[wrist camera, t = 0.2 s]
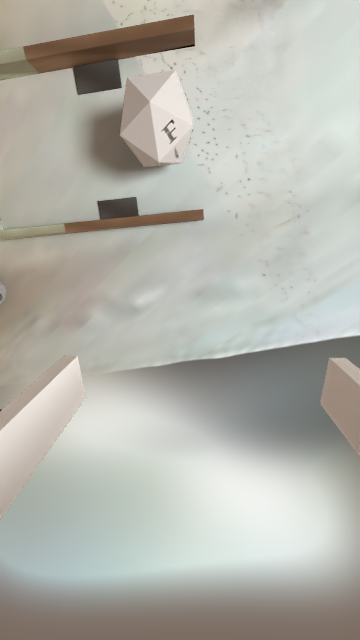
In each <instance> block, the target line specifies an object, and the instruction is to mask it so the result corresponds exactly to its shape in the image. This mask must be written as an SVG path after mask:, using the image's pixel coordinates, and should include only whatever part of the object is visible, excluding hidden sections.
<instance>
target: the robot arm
mask: <svg viewBox="0 0 360 640" xmlns="http://www.w3.org/2000/svg"><path fill="white" fill-rule="evenodd" d="M85 399H86V397H85V392H84V387H83V382H82V377H81V372H80V367H79V362H78V357H77V356H63V357H62V358H61V359H60V360H59V361H58V362H57V363H55V364H54V365H53V366H52V367H51V368H50V369H48V370H47V371H46V372H45V373H44V374H43V375H42V376H40V377H39V378H38V379H37V380H36V381H35V382H34V383H32V384H31V385H30V386H29V387H28V388H27V389H25V390H24V391H23V392H22V393H21V394H20V395H19V396H18V397H16V398H15V399H14V400H13V401H12V402H11V403H9V404H8V405H7V406H6V407H5V408H4V409H2V410H1V409H0V519H1V517H2V515H3V514H4V513H5V512H6V510H7V509H8V507H9V506H10V505H11V503H12V501H13V500H14V499H15V497H16V496H17V495H18V493H19V492H20V490H21V489H22V488H23V486H24V485H25V483H26V482H27V480H28V479H29V477H30V476H31V475H32V473H33V472H34V471H35V469H36V468H37V466H38V465H39V464H40V462H41V461H42V459H43V458H44V456H45V455H46V454H47V452H48V451H49V449H50V448H51V446H52V445H53V444H54V442H55V441H56V440H57V438H58V437H59V435H60V434H61V432H62V431H63V430H64V428H65V427H66V425H67V424H68V423H69V421H70V420H71V418H72V417H73V415H74V414H75V413H76V411H77V410H78V408H79V407H80V406H81V404H82V403H83V401H84V400H85ZM320 404H321V405H322V406H323V408H324V409H325V411H326V412H327V413H328V415H329V416H330V417H331V419H332V420H333V421H334V422H335V424H336V425H337V427H338V428H339V429H340V431H341V432H342V433H343V435H344V436H345V437H346V438H347V440H348V441H349V443H350V444H351V445H352V447H353V448H354V449H355V451H356V452H357V453H358V455H359V456H360V369H359V368H357V367H356V366H355V365H354V364H352V363H351V362H350V361H349V360H347V359H346V358H329V363H328V368H327V373H326V377H325V382H324V387H323V392H322V397H321V402H320Z"/></svg>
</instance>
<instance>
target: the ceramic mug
mask: <svg viewBox="0 0 360 640" xmlns="http://www.w3.org/2000/svg"><path fill="white" fill-rule="evenodd" d="M0 293H1V297H0V303H2V302H3V301H4V299H5V298H6V296H7V289H6V287H5V286H4V285H3V284H2V283H1V282H0Z"/></svg>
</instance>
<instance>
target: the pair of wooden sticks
mask: <svg viewBox="0 0 360 640" xmlns="http://www.w3.org/2000/svg"><path fill="white" fill-rule="evenodd" d="M192 46H195V37H194V15H189V16H184V17H179V18H173V19H168V20H163V21H157V22H152V23H147V24H141V25H136V26H131V27H125V28H120V29H115V30H109V31H104V32H99V33H94V34H88V35H83V36H78V37H72V38H67V39H62V40H56V41H51V42H46V43H40V44H35V45H30V46H24V47H19V48H14V49H8V50H3V51H0V80H3V79H9V78H14V77H20V76H26V75H32V74H37V73H43V72H49V71H55V70H60V69H66V68H72V67H74V72H75V78H76V83H77V89H78V94H79V95H80V94H86V93H92V92H98V91H104V90H111V89H117V88H122V87H121V79H120V72H119V64H118V59H123V58H129V57H135V56H141V55H146V54H152V53H158V52H164V51H169V50H175V49H181V48H186V47H192ZM98 204H99V210H100V215H101V220H96V221H86V222H76V223H67V224H57V225H48V226H38V227H28V228H19V229H9V230H3V227H2V223H1V220H0V240H6V239H16V238H26V237H36V236H46V235H56V234H66V233H77V232H87V231H97V230H107V229H117V228H127V227H137V226H147V225H157V224H167V223H177V222H187V221H197V220H203V219H204V216H203V209H201V210H191V211H182V212H172V213H163V214H153V215H144V216H139V215H138V208H137V200H136V197H132V198H123V199H115V200H106V201H98Z"/></svg>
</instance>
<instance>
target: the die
mask: <svg viewBox="0 0 360 640" xmlns="http://www.w3.org/2000/svg"><path fill="white" fill-rule="evenodd" d="M192 129H193V115H192V112H191V110H190V107H189V104H188V102H187V99H186V96H185V94H184V91H183V89H182V86H181V83H180V81H179V78H178V76H177V73H176V70H173V71H166V72H160V73H153V74H146V75H139V76H133V77H127V81H126V89H125V97H124V105H123V113H122V121H121V129H120V136H121V137H122V139H123V140H124V141H125V143H126V144H127V145H128V146H129V148H130V149H131V150H132V152H133V153H134V154H135V156H136V157H137V158H138V160H139V161H140V162H141V164H142V165H143V166H144V167H152V166H161V165H170V164H180V163H183V161H184V157H185V154H186V150H187V147H188V143H189V140H190V136H191V132H192Z"/></svg>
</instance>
